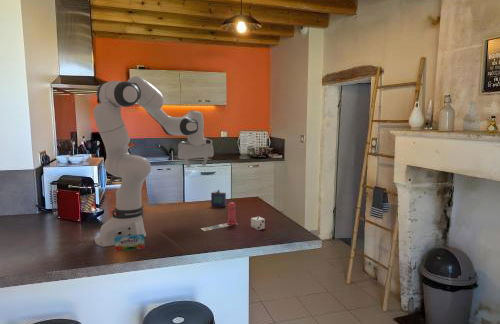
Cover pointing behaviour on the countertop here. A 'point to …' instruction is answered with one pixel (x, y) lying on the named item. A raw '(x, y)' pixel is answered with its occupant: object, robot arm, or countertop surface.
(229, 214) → the pawn
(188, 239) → the countertop surface
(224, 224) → the game strip
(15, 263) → the countertop surface
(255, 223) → the die
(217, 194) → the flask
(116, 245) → the colorful food package
